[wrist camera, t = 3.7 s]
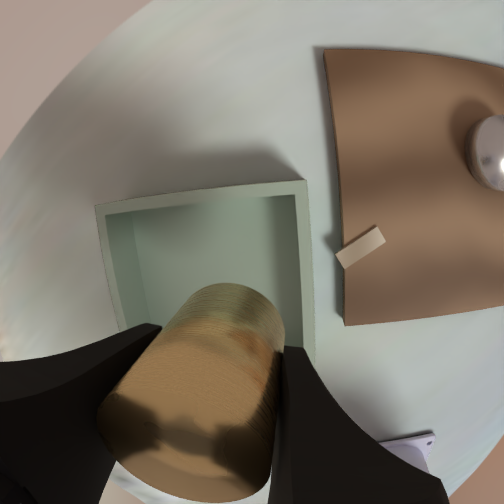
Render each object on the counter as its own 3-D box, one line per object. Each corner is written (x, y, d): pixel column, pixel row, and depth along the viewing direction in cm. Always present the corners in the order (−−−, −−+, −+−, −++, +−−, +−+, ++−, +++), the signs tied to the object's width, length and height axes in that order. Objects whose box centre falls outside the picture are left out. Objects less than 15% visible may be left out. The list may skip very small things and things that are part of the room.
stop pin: (284, 379, 12) (270, 510, 6) (185, 372, 12) (124, 483, 6) (285, 283, 11) (271, 400, 5) (172, 281, 11) (75, 372, 5)
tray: (313, 355, 20) (315, 387, 16) (155, 355, 22) (135, 381, 18) (304, 179, 17) (307, 180, 14) (125, 199, 19) (94, 205, 16)
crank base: (553, 288, 16) (562, 293, 15) (334, 319, 19) (335, 328, 18) (550, 88, 12) (559, 85, 11) (313, 56, 15) (314, 48, 14)
